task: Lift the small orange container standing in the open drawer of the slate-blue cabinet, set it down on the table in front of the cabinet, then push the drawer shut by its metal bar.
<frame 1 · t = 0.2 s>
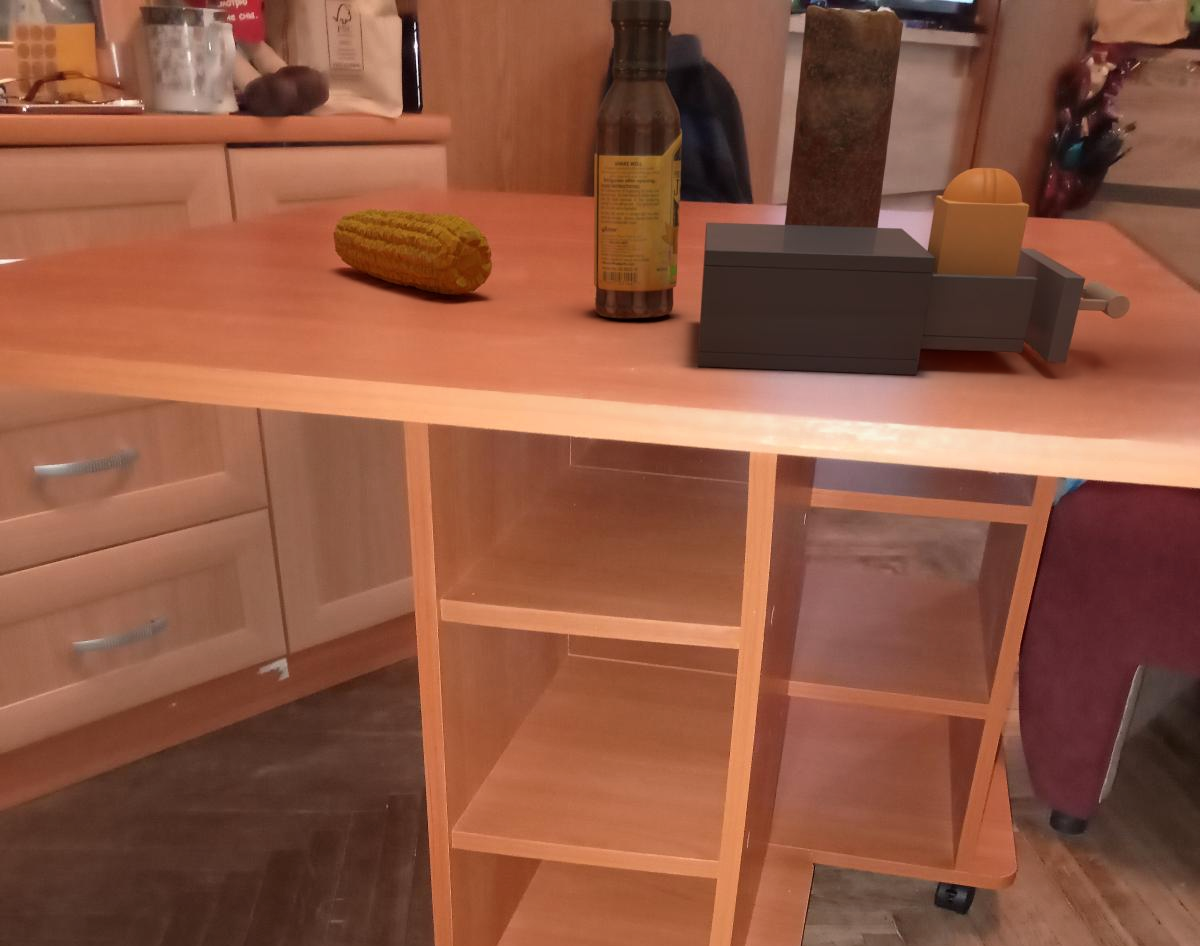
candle: (822, 305, 94), on the table
orange container: (960, 320, 77), point 2 cm above the table, touching drawer
food: (405, 287, 98), on the table
sauce bottle: (633, 317, 88), on the table
cabinet: (799, 347, 79), on the table
drawer: (985, 300, 76), point 3 cm above the table, slide at 8.0 cm, touching orange container
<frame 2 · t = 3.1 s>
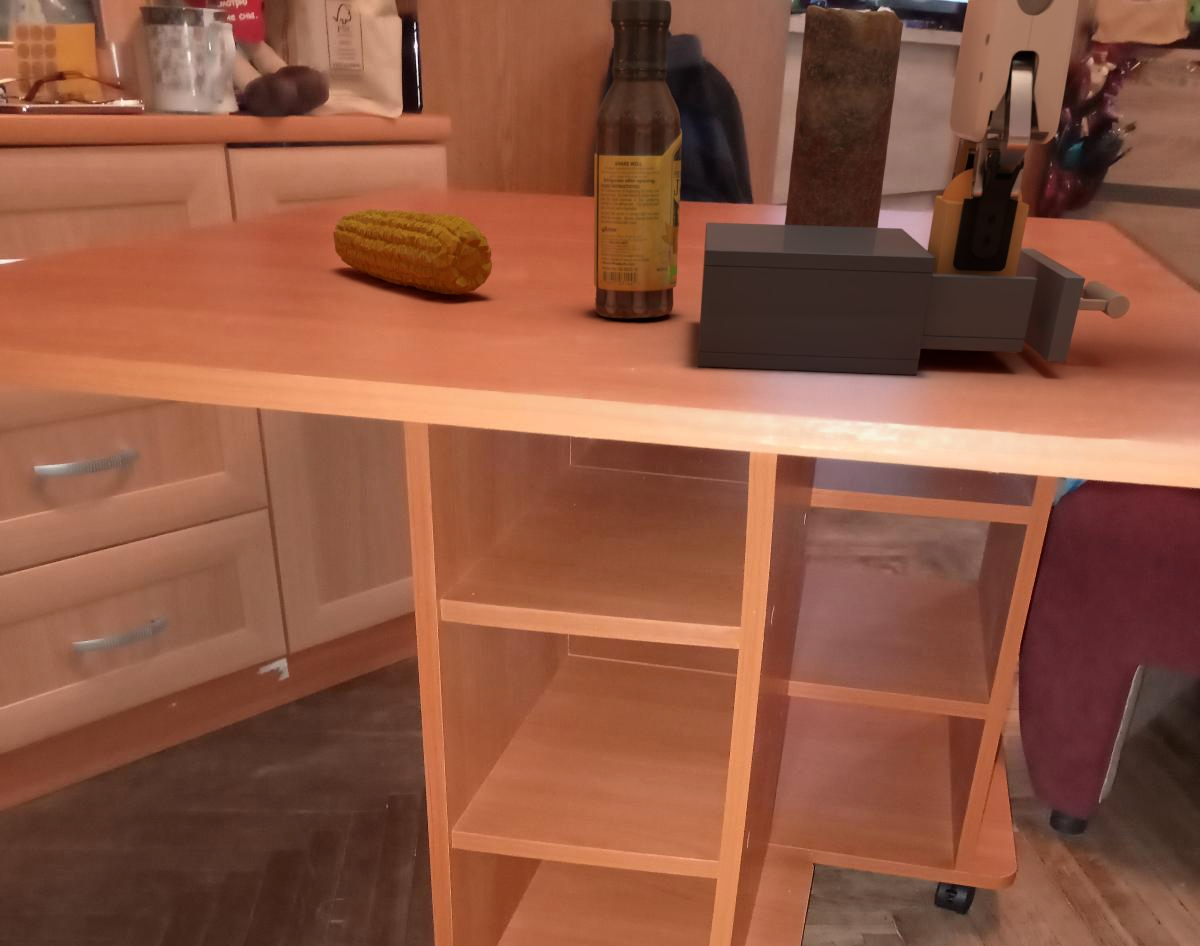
hand: (970, 260, 75), 6 cm above the table, tool pointing down, fingers closed on orange container, 4 cm apart
orange container: (960, 320, 77), point 2 cm above the table, touching drawer, gripper
everything else where it was.
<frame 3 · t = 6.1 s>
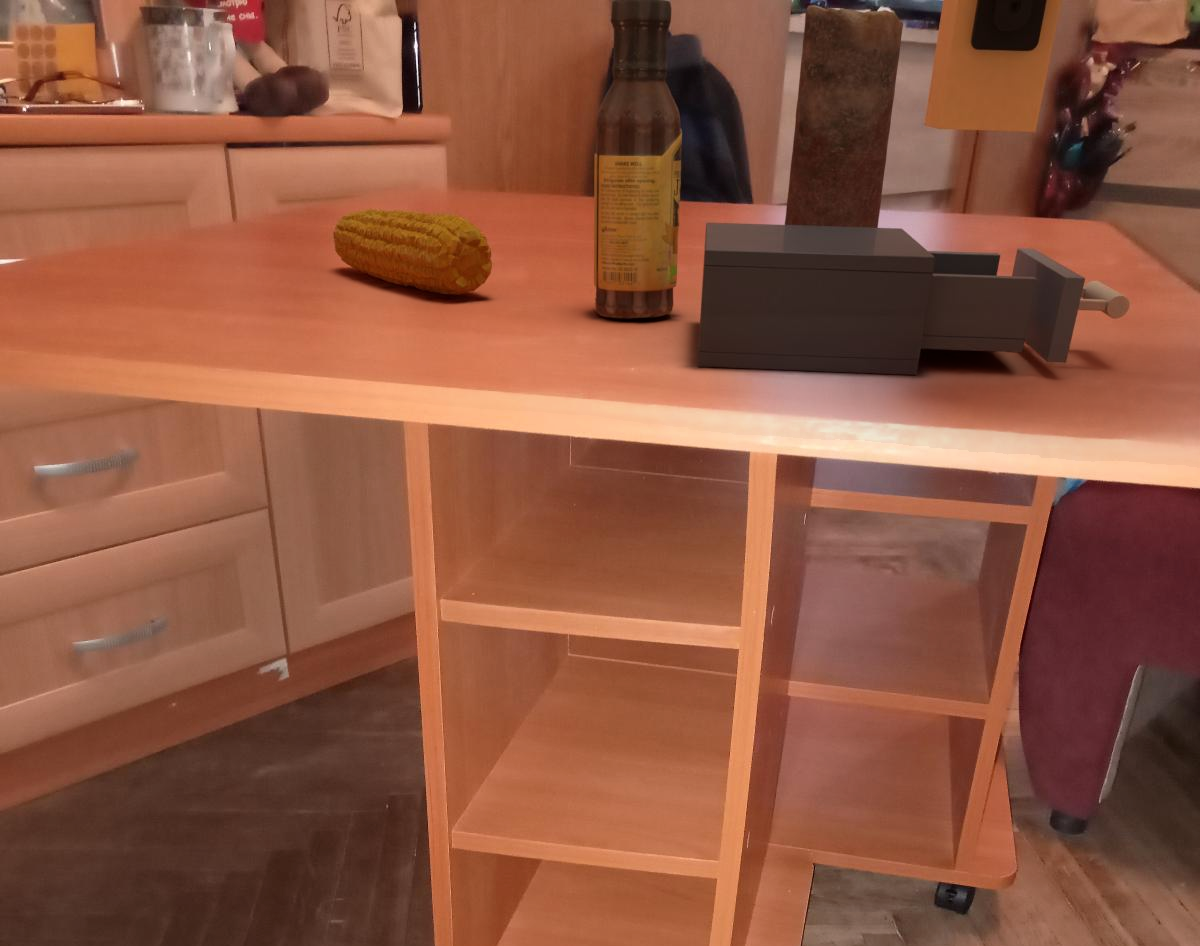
hand: (992, 46, 59), 17 cm above the table, tool pointing down, fingers closed on orange container, 4 cm apart
orange container: (978, 128, 61), point 14 cm above the table, touching gripper
drawer: (985, 300, 76), point 3 cm above the table, slide at 8.0 cm
everything else where it was.
when the fingers open (4 cm above the table, at t = 9.5 s): orange container stays where it is, on the table.
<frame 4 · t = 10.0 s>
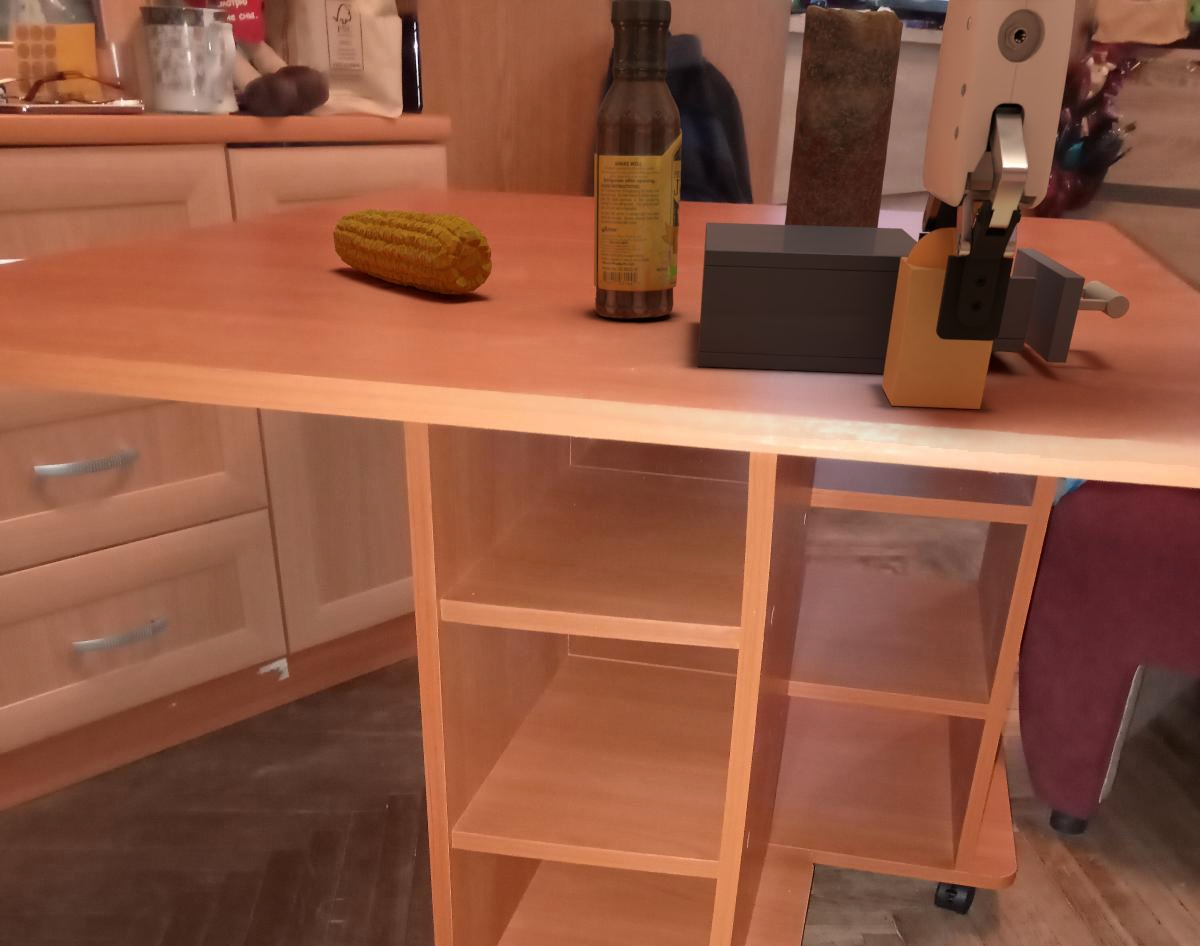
hand: (950, 321, 65), 4 cm above the table, tool pointing down, fingers open, 8 cm apart
orange container: (929, 397, 67), on the table
everything else where it was.
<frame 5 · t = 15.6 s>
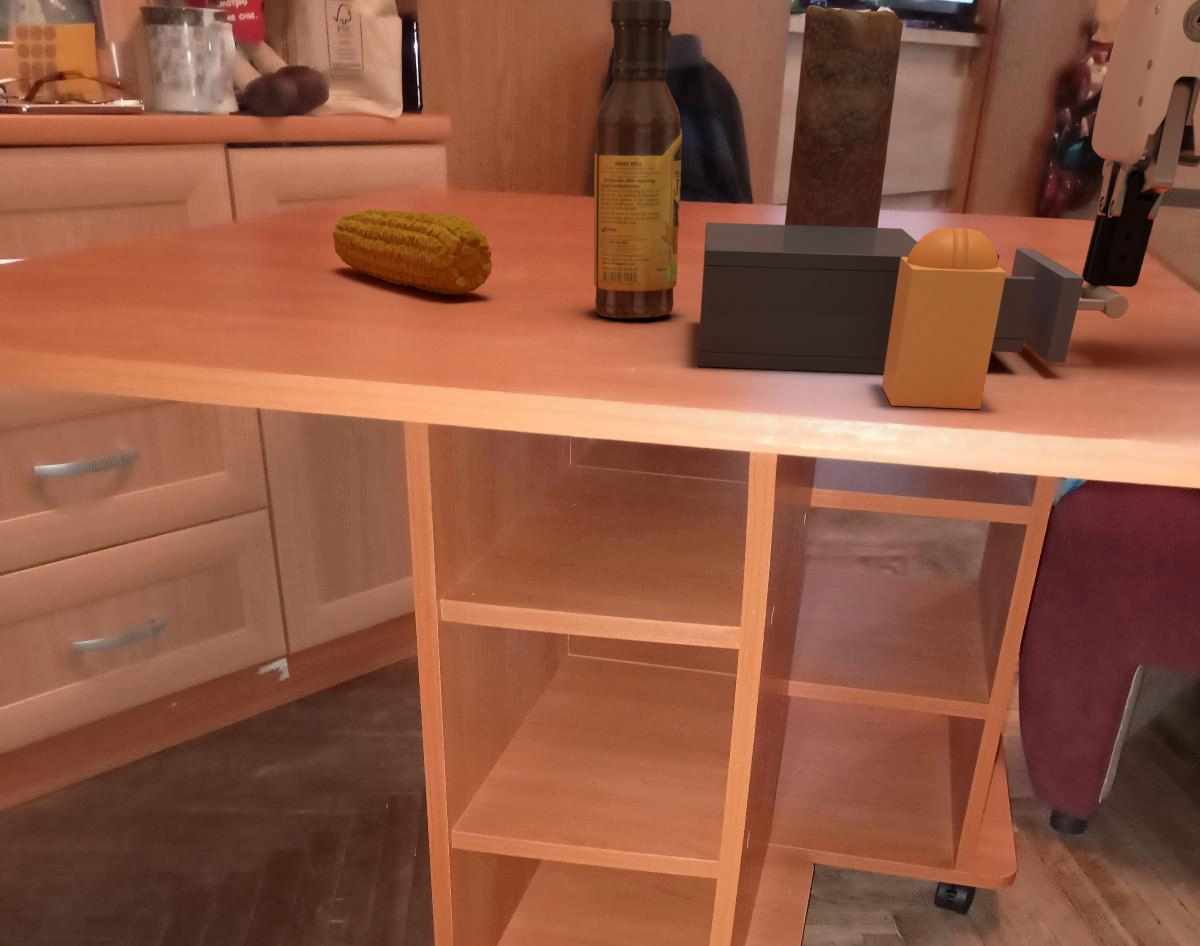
hand: (1108, 283, 77), 4 cm above the table, tool pointing down, fingers closed
drawer: (984, 300, 76), point 3 cm above the table, slide at 7.9 cm, touching gripper
everything else where it was.
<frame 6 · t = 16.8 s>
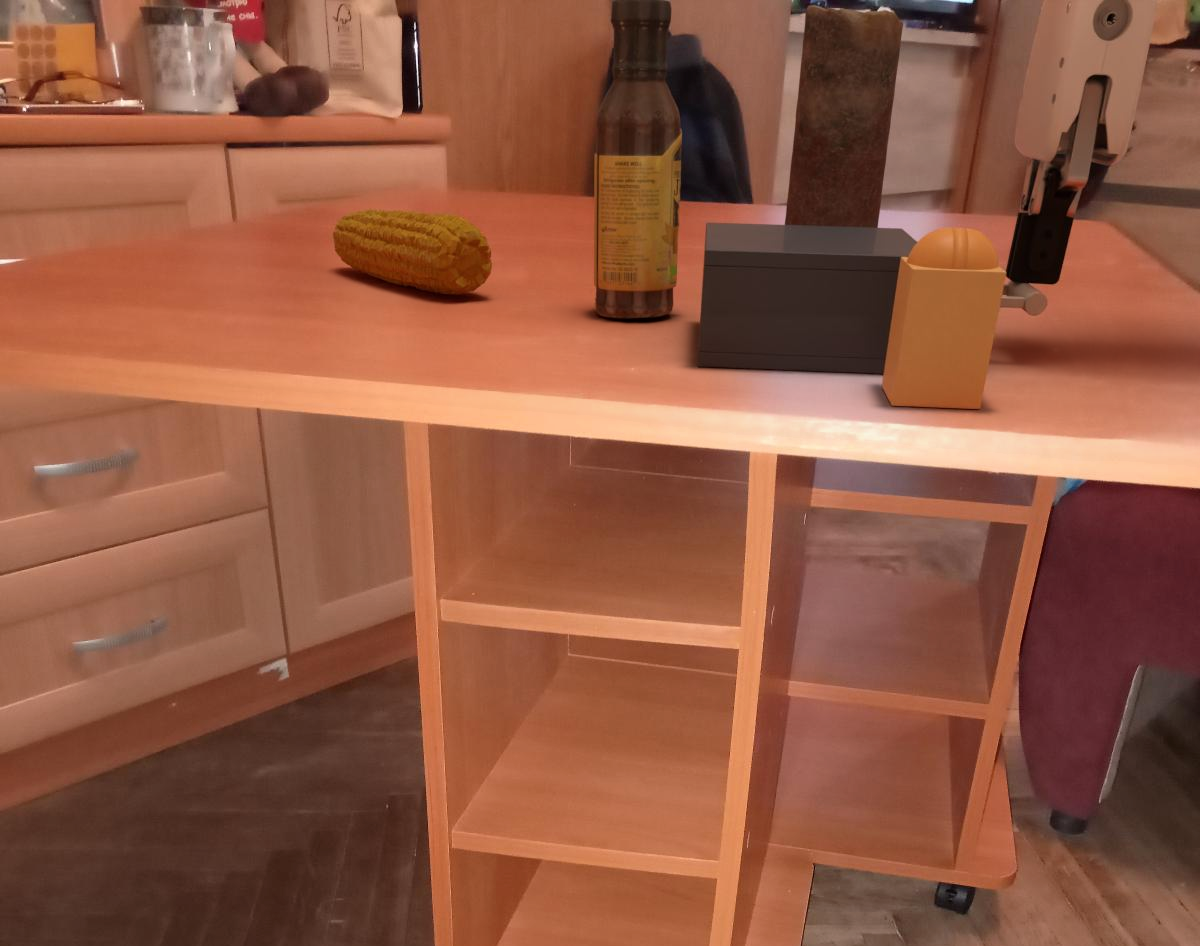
hand: (1030, 280, 77), 4 cm above the table, tool pointing down, fingers closed
drawer: (907, 297, 77), point 3 cm above the table, slide at 2.9 cm, touching gripper
everything else where it was.
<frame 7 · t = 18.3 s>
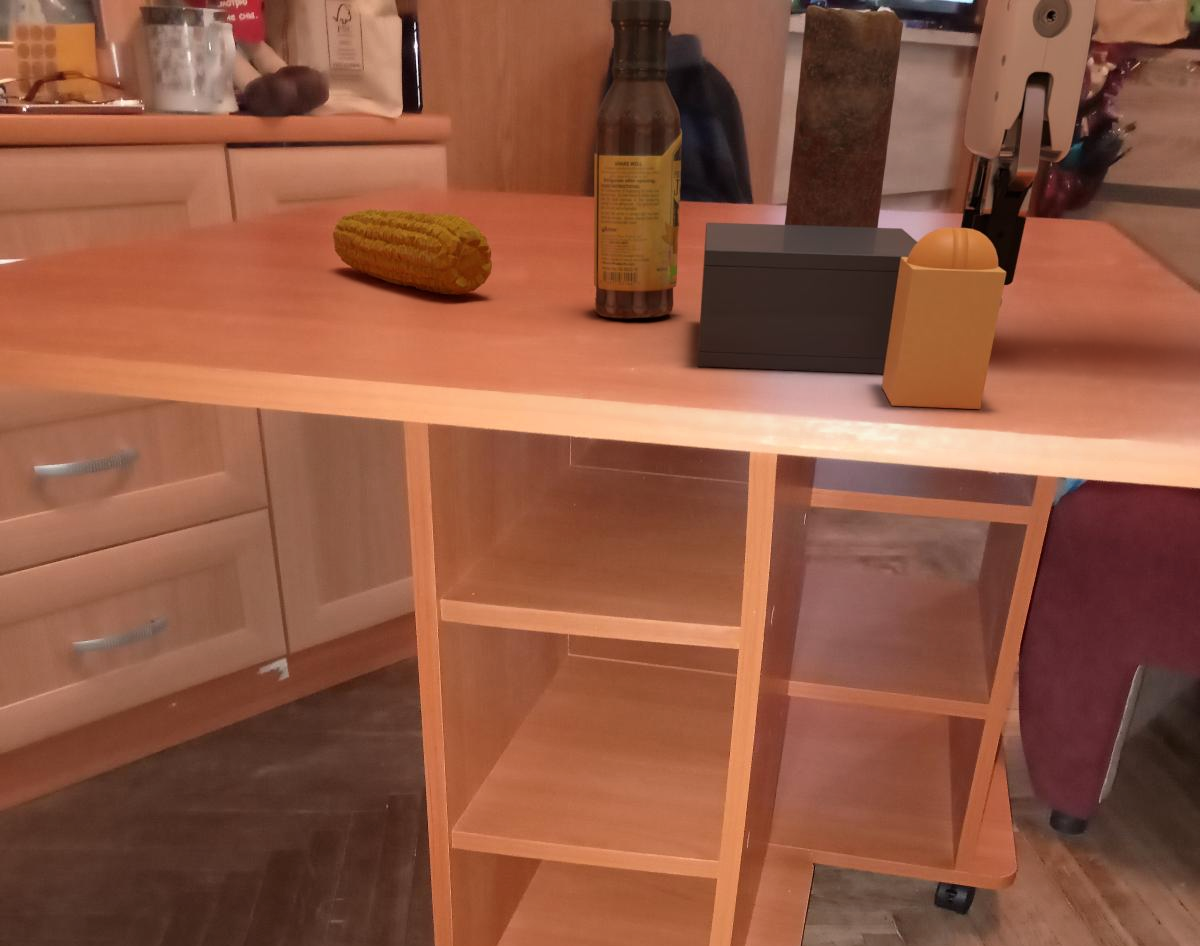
hand: (982, 276, 77), 5 cm above the table, tool pointing down, fingers closed
drawer: (863, 296, 77), point 3 cm above the table, slide at 0.0 cm, touching cabinet, gripper
everything else where it was.
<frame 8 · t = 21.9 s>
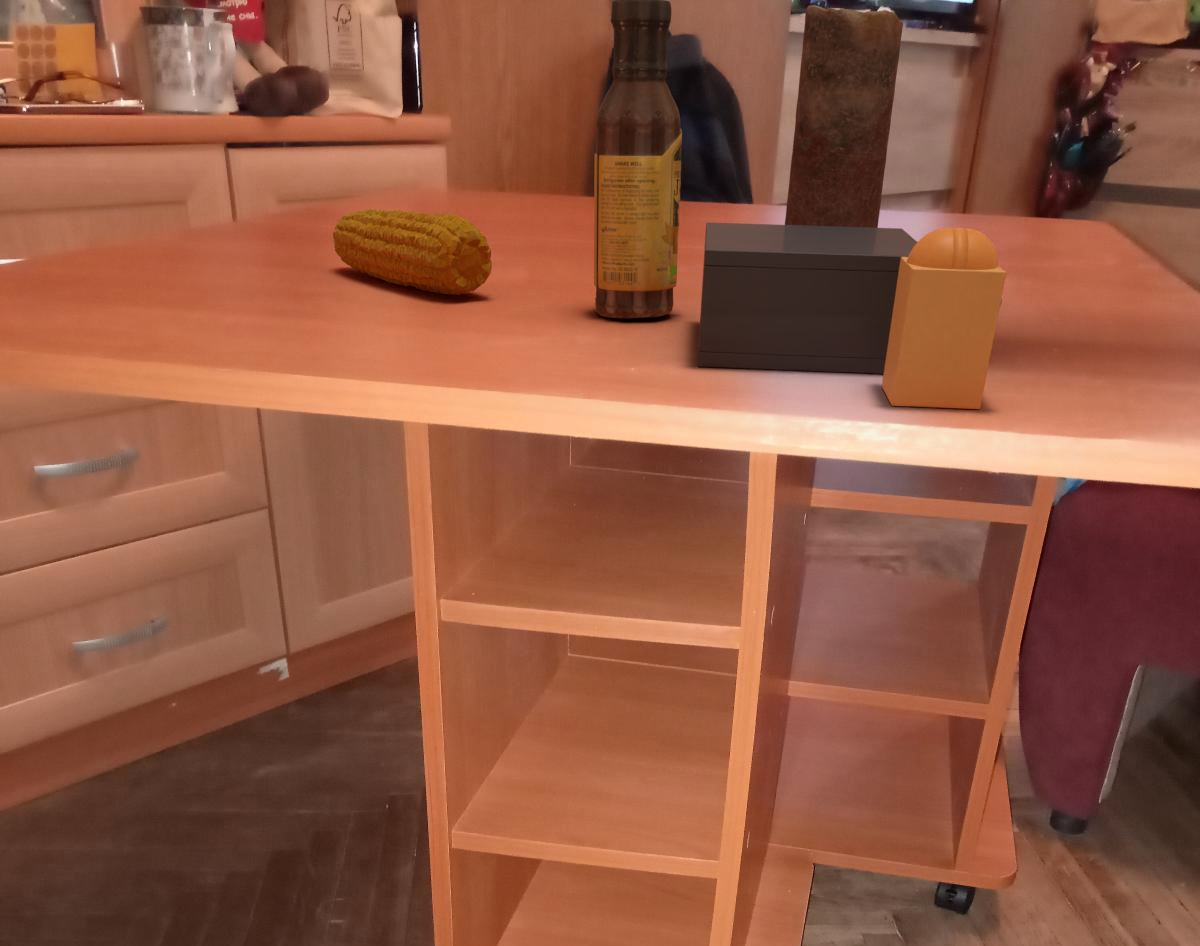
drawer: (863, 296, 77), point 3 cm above the table, slide at 0.0 cm
everything else where it was.
at the end: orange container inside the target area (0.2 cm from its centre), on the table; orange container tilted 0°; drawer slide at 0.0 cm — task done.
